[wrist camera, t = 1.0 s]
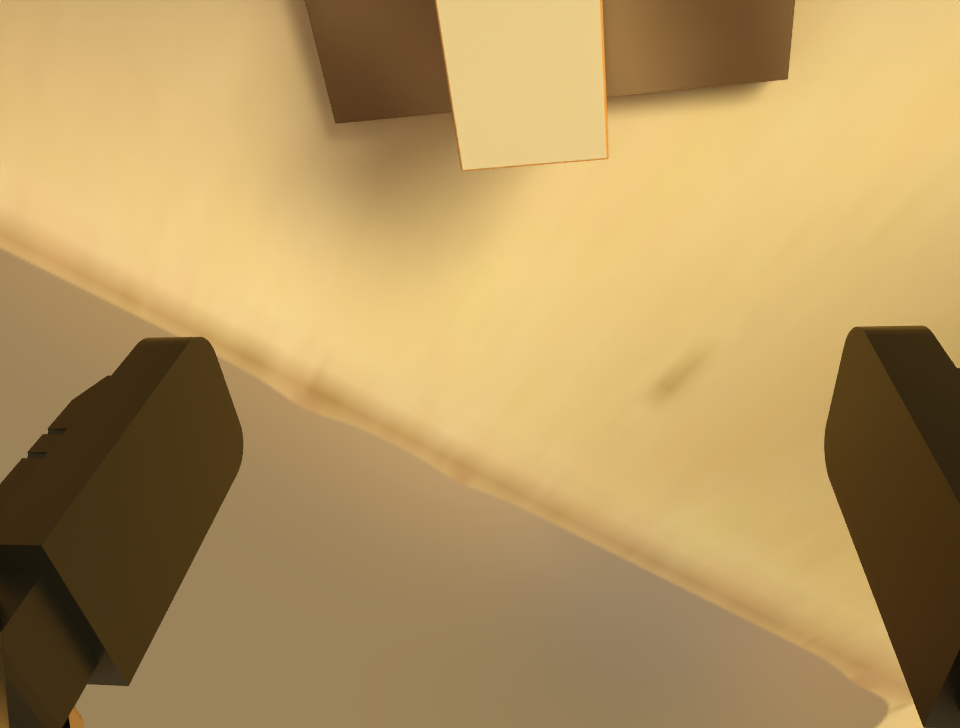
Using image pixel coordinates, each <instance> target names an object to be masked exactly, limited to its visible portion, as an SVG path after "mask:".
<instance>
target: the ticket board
mask: <svg viewBox="0 0 960 728" xmlns="http://www.w3.org/2000/svg"><path fill="white" fill-rule="evenodd" d="M305 2H306V6H307V10H308V14H309V18H310V22H311V26H312V30H313V34H314V38H315V42H316V46H317V50H318V55H319V59H320V63H321V67H322V71H323V75H324V79H325V83H326V87H327V91H328V95H329V99H330V103H331V107H332V111H333V115H334V119H335V123H347V122H357V121H367V120H377V119H387V118H398V117H408V116H418V115H428V114H438V113H449V112H452V107H451V101H450V94H449V88H448V82H447V75H446V69H445V62H444V56H443V50H442V43H441V37H440V31H439V24H438V18H437V11H436V5H435V0H305ZM602 2H603V26H604V51H605V75H606V97H612V96H622V95H632V94H642V93H653V92H663V91H673V90H683V89H693V88H704V87H714V86H724V85H734V84H744V83H755V82H765V81H775V80H785V79H788V70H789V60H790V49H791V38H792V27H793V16H794V5H795V0H602Z"/></svg>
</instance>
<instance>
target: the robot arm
mask: <svg viewBox="0 0 960 728" xmlns="http://www.w3.org/2000/svg"><path fill="white" fill-rule="evenodd" d="M824 451H825V462H826V468H827V472H828V476H829V479H830V482H831V485H832V487H833V490H834V493H835V495H836V498H837V501H838V503H839V506H840V508H841V511H842V514H843V516H844V519H845V522H846V524H847V527H848V530H849V532H850V535H851V537H852V540H853V543H854V545H855V548H856V551H857V553H858V556H859V559H860V561H861V564H862V567H863V569H864V572H865V574H866V577H867V580H868V582H869V585H870V588H871V590H872V593H873V596H874V598H875V601H876V603H877V606H878V609H879V611H880V614H881V617H882V619H883V622H884V625H885V627H886V630H887V632H888V635H889V638H890V640H891V643H892V646H893V648H894V651H895V654H896V656H897V659H898V661H899V664H900V667H901V669H902V672H903V675H904V677H905V680H906V683H907V685H908V688H909V690H910V693H911V696H912V698H913V701H914V704H915V706H916V709H917V712H918V714H919V717H920V719H921V722H922V725H923V727H924V728H960V368H956V367H955V365H954V364H953V362H952V361H951V359H950V358H949V356H948V355H947V353H946V352H945V350H944V349H943V348H942V346H941V345H940V343H939V342H938V340H937V339H936V337H935V336H934V334H933V333H932V332H931V331H930V329H928V328H927V327H925V326H878V327H854V328H853V329H852V330H851V331H850V332H849V334H848V336H847V338H846V341H845V345H844V349H843V353H842V358H841V362H840V366H839V371H838V375H837V380H836V384H835V389H834V393H833V397H832V402H831V406H830V411H829V415H828V419H827V424H826V429H825V440H824ZM242 455H243V434H242V428H241V425H240V422H239V419H238V416H237V414H236V411H235V408H234V405H233V402H232V399H231V396H230V393H229V390H228V388H227V385H226V382H225V379H224V376H223V373H222V370H221V368H220V365H219V362H218V359H217V356H216V353H215V351H214V349H213V347H212V345H211V344H210V342H209V341H208V340H206V339H205V338H203V337H165V338H146V339H143V340H141V341H140V342H139V343H138V344H137V345H136V346H135V347H134V349H133V350H132V351H131V352H130V354H129V355H128V356H127V357H126V358H125V360H124V361H123V362H122V363H121V365H120V366H119V367H118V368H117V370H116V371H115V372H114V373H113V374H112V375H111V376H106V377H105V378H103V379H102V380H100V381H99V382H98V383H96V384H95V385H93V386H92V387H90V388H89V389H88V390H86V391H85V392H83V393H82V394H80V395H79V396H77V397H76V398H75V399H73V400H72V401H71V402H70V403H69V404H68V405H67V407H66V408H65V409H64V410H63V411H62V413H61V414H60V415H59V416H58V417H57V418H56V420H55V421H54V422H53V423H52V424H51V425H50V427H49V428H48V434H43V435H42V436H41V437H40V438H39V439H38V441H37V442H36V443H35V444H34V445H33V446H32V448H31V449H30V450H29V451H28V458H22V459H21V461H20V462H19V463H18V464H17V465H16V466H15V467H14V468H13V470H12V471H11V472H10V473H9V474H8V475H7V477H6V478H5V479H4V480H3V481H2V482H1V484H0V728H84V725H83V721H82V718H81V715H80V714H79V712H78V711H77V709H76V708H75V704H76V702H77V700H78V699H79V697H80V695H81V694H82V692H83V690H84V688H85V686H86V685H87V684H97V685H118V686H129V684H130V682H131V680H132V678H133V676H134V674H135V672H136V670H137V668H138V667H139V664H140V662H141V661H142V659H143V657H144V655H145V653H146V651H147V649H148V647H149V645H150V643H151V641H152V639H153V637H154V635H155V633H156V631H157V629H158V627H159V625H160V624H161V621H162V619H163V618H164V616H165V614H166V612H167V610H168V608H169V606H170V604H171V602H172V600H173V598H174V596H175V594H176V592H177V590H178V588H179V587H180V585H181V583H182V581H183V579H184V577H185V575H186V573H187V571H188V569H189V567H190V565H191V563H192V561H193V559H194V557H195V555H196V553H197V551H198V549H199V547H200V545H201V544H202V542H203V540H204V538H205V535H206V534H207V532H208V530H209V528H210V526H211V524H212V522H213V520H214V518H215V516H216V514H217V512H218V510H219V508H220V506H221V504H222V503H223V501H224V499H225V497H226V494H227V493H228V491H229V489H230V487H231V484H232V483H233V481H234V479H235V477H236V475H237V473H238V471H239V468H240V465H241V461H242Z"/></svg>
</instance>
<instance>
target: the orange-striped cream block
mask: <svg viewBox="0 0 960 728" xmlns="http://www.w3.org/2000/svg"><path fill="white" fill-rule="evenodd" d="M435 5H436V11H437V18H438V24H439V31H440V37H441V43H442V50H443V56H444V62H445V69H446V75H447V82H448V88H449V94H450V101H451V107H452V113H453V120H454V126H455V132H456V139H457V145H458V152H459V158H460V164H461V171H470V170H482V169H494V168H506V167H518V166H530V165H542V164H554V163H566V162H578V161H590V160H602V159H608V126H607V101H606V75H605V51H604V26H603V2H602V0H435Z"/></svg>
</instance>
